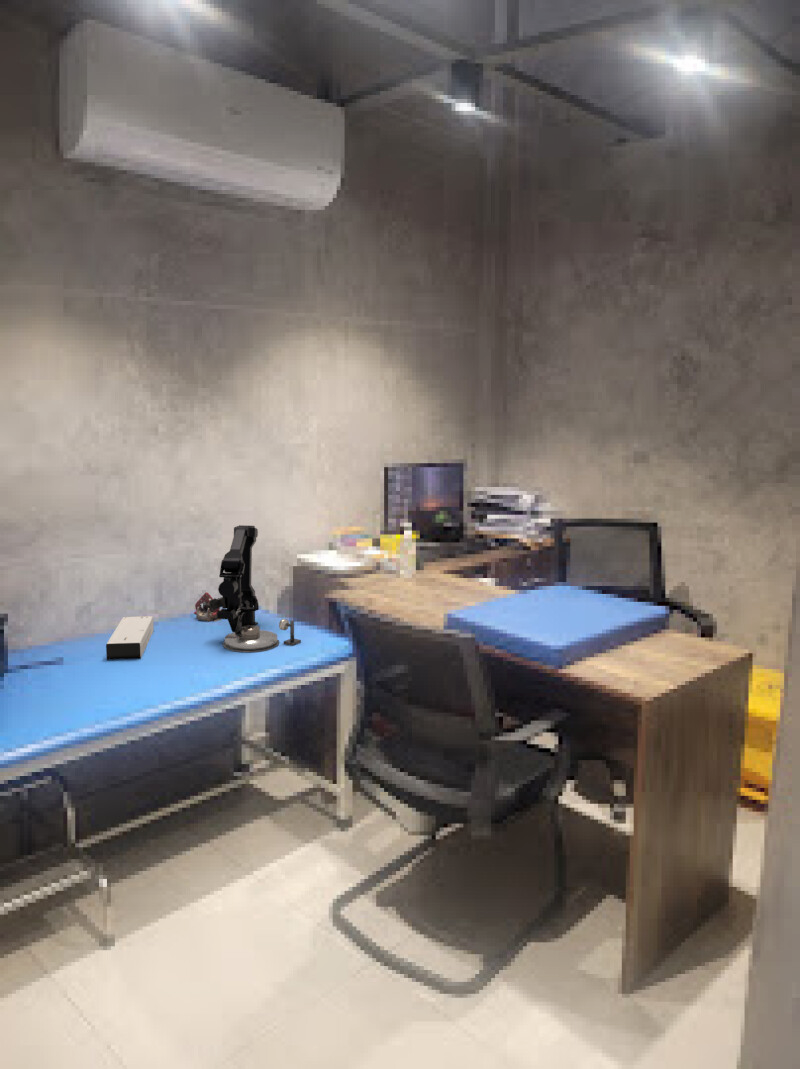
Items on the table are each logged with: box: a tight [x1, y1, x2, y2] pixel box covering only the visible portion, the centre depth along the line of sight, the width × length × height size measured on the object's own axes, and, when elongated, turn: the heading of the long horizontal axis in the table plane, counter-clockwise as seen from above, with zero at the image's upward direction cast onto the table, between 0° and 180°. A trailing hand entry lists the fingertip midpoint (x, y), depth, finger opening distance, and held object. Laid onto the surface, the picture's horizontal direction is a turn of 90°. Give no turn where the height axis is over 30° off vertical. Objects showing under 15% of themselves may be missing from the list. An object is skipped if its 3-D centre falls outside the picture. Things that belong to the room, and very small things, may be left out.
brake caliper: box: [193, 592, 222, 622], centre depth 332 cm, size 11×11×12 cm
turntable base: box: [222, 638, 280, 654], centre depth 300 cm, size 20×20×1 cm
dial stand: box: [278, 618, 302, 647], centre depth 301 cm, size 6×5×9 cm
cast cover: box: [241, 624, 261, 640], centre depth 299 cm, size 7×7×4 cm
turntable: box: [224, 622, 278, 651], centre depth 300 cm, size 19×19×6 cm
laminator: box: [105, 615, 154, 660], centre depth 297 cm, size 34×12×6 cm, turn 9°
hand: (233, 632), depth 302 cm, fingers closed
